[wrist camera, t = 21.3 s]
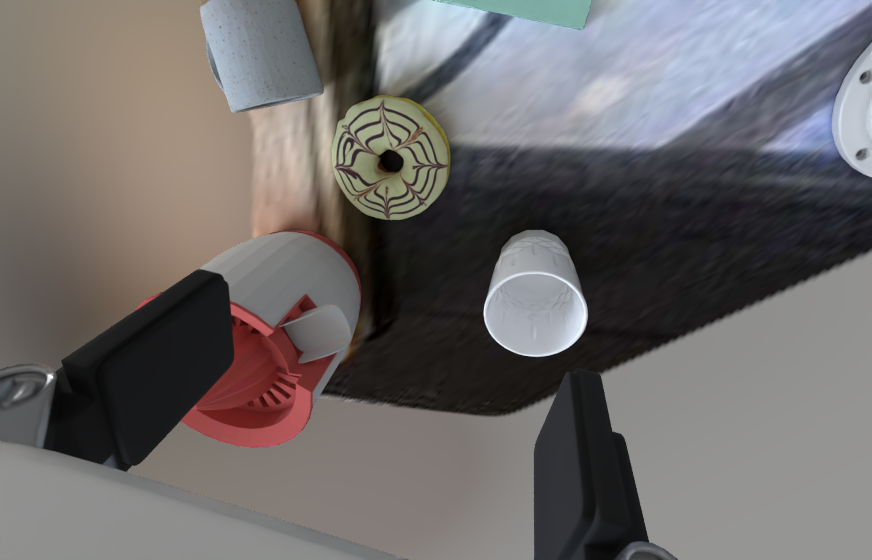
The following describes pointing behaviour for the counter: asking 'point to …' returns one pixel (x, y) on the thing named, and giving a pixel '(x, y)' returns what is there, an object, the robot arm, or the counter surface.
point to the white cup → (535, 296)
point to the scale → (535, 10)
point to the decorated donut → (402, 132)
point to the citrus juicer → (279, 335)
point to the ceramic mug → (259, 52)
